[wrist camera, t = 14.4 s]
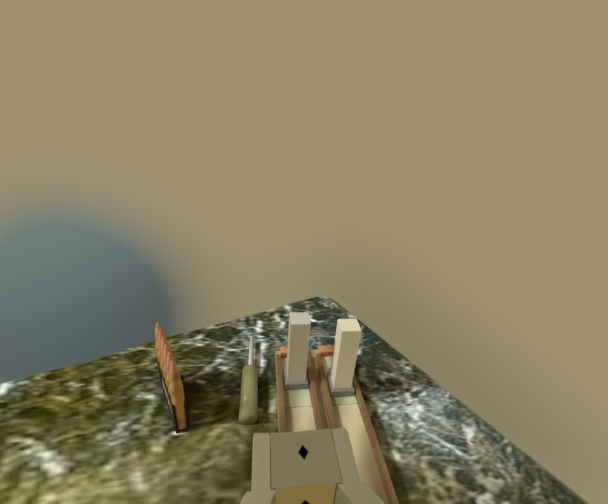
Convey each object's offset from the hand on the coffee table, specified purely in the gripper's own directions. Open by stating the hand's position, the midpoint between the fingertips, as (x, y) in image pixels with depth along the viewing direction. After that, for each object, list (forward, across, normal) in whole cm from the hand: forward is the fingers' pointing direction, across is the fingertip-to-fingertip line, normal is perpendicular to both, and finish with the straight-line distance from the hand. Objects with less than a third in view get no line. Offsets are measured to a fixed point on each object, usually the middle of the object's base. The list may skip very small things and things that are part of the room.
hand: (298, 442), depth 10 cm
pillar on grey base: (+31, -4, +30) cm, 44 cm away
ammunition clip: (+29, +14, +32) cm, 46 cm away
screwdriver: (+32, +3, +32) cm, 46 cm away
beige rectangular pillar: (+29, -11, +30) cm, 44 cm away
